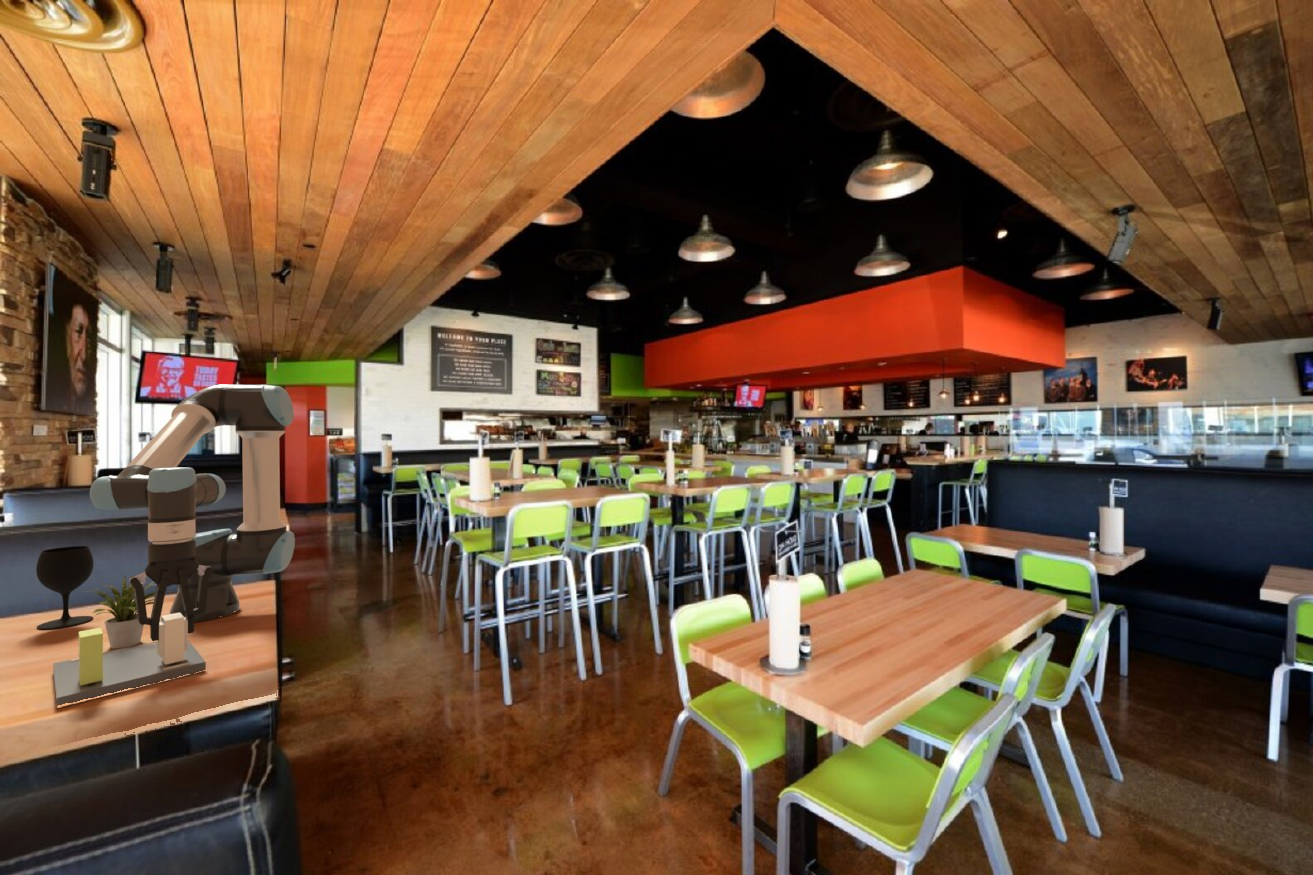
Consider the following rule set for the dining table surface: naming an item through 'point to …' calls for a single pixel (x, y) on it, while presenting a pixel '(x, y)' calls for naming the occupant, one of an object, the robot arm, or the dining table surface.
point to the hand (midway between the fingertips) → (172, 651)
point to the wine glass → (64, 579)
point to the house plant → (123, 616)
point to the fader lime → (90, 656)
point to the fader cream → (173, 638)
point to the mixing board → (122, 672)
